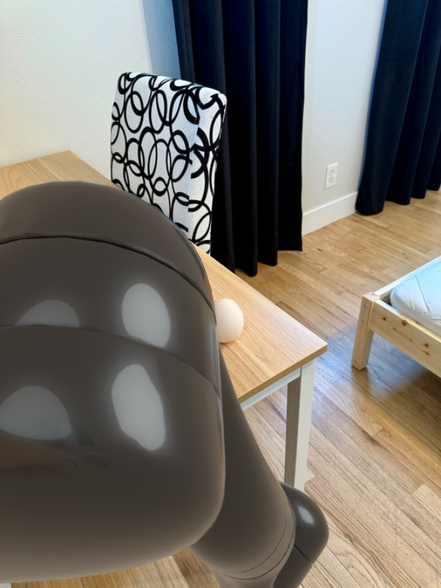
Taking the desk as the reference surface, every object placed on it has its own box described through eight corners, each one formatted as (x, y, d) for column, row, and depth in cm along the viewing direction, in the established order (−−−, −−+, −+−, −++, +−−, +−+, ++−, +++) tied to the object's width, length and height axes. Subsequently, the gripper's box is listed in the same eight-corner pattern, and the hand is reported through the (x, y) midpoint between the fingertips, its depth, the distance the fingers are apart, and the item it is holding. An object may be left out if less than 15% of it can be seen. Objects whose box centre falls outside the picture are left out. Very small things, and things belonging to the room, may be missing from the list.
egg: (200, 331, 70) (198, 294, 66) (234, 321, 72) (234, 285, 67) (214, 356, 66) (212, 319, 61) (250, 344, 68) (250, 308, 63)
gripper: (198, 372, 48) (111, 305, 58) (87, 456, 40) (8, 362, 50) (201, 413, 53) (120, 345, 62) (103, 496, 45) (27, 403, 54)
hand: (71, 353), depth 56 cm, fingers closed on supplement box, 4 cm apart
